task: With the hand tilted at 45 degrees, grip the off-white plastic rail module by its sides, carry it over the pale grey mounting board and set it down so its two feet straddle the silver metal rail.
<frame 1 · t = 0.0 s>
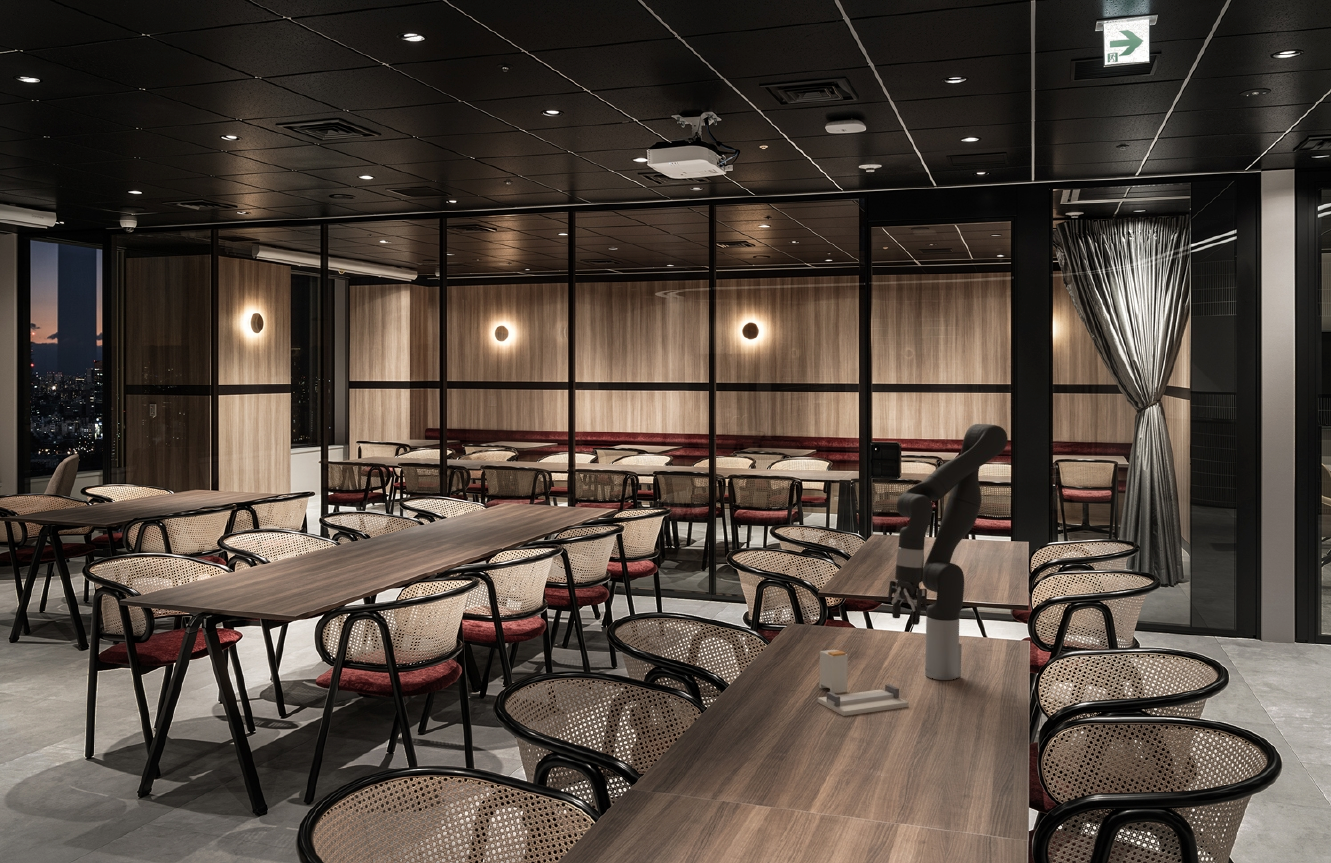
hand: (905, 621, 286), 17 cm above the table, tool pointing down, fingers open, 8 cm apart
mounting board: (862, 704, 264), on the table
rail module: (833, 689, 277), on the table
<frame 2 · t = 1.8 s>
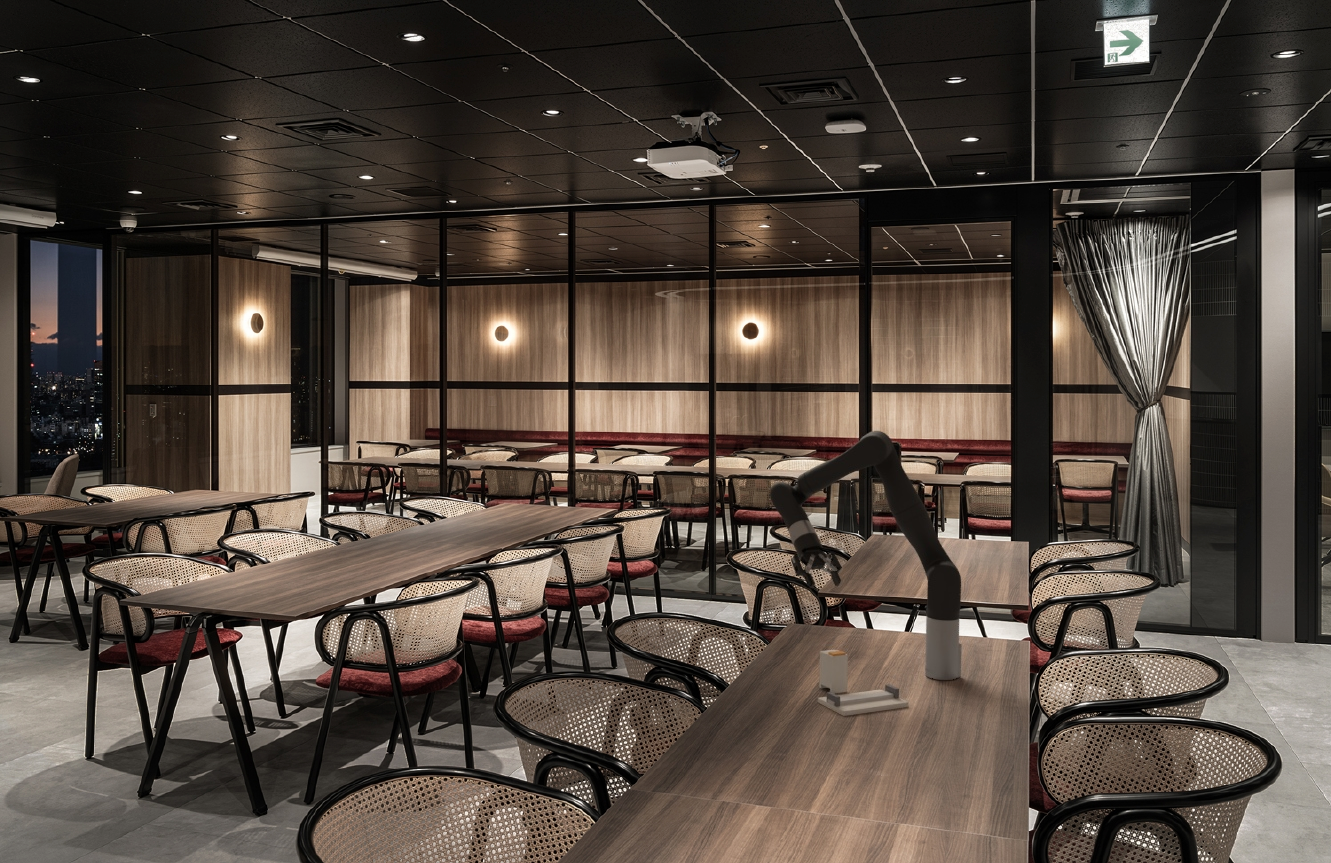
hand: (825, 585, 287), 27 cm above the table, tool tilted 45°, fingers open, 8 cm apart
nothing on the table moved.
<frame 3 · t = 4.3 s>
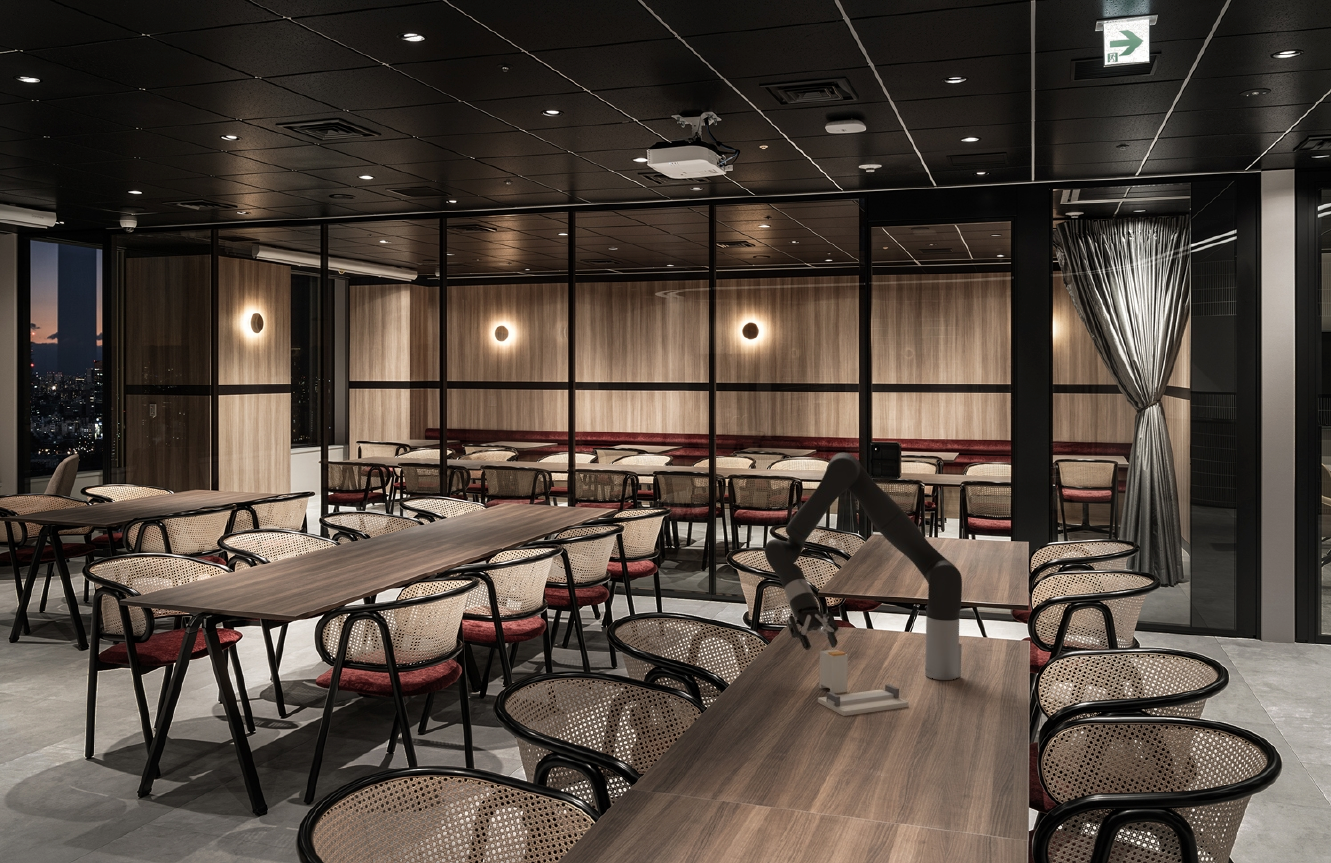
hand: (821, 647, 282), 10 cm above the table, tool tilted 45°, fingers open, 8 cm apart
nothing on the table moved.
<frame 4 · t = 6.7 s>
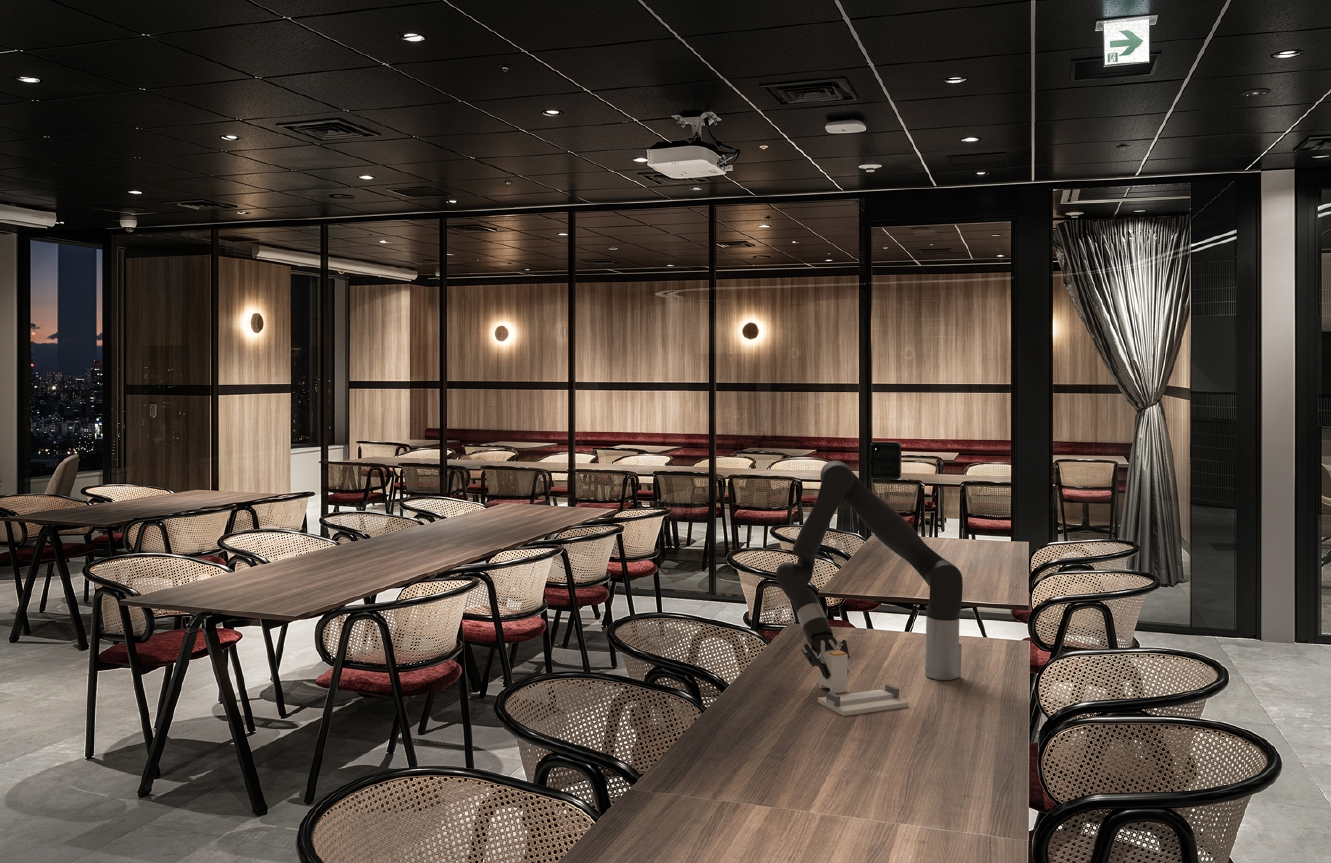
hand: (837, 676, 275), 4 cm above the table, tool tilted 45°, fingers closed on rail module, 5 cm apart
rail module: (833, 689, 277), on the table, touching gripper
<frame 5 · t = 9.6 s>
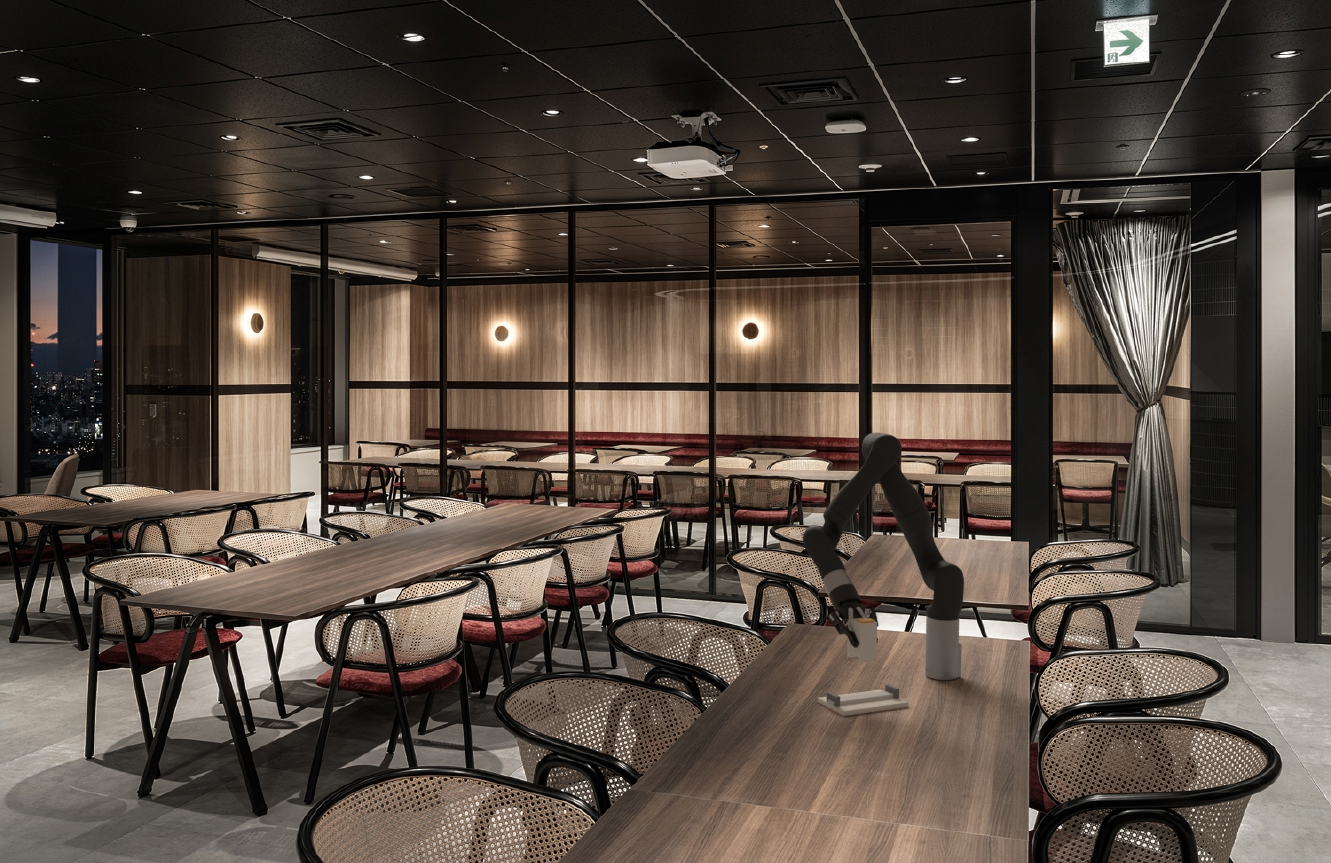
hand: (866, 644, 263), 16 cm above the table, tool tilted 45°, fingers closed on rail module, 5 cm apart
rail module: (861, 658, 265), point 12 cm above the table, touching gripper
when the fingers open (7 cm above the table, at t = 12.4 s): rail module drops 1 cm, resting on mounting board.
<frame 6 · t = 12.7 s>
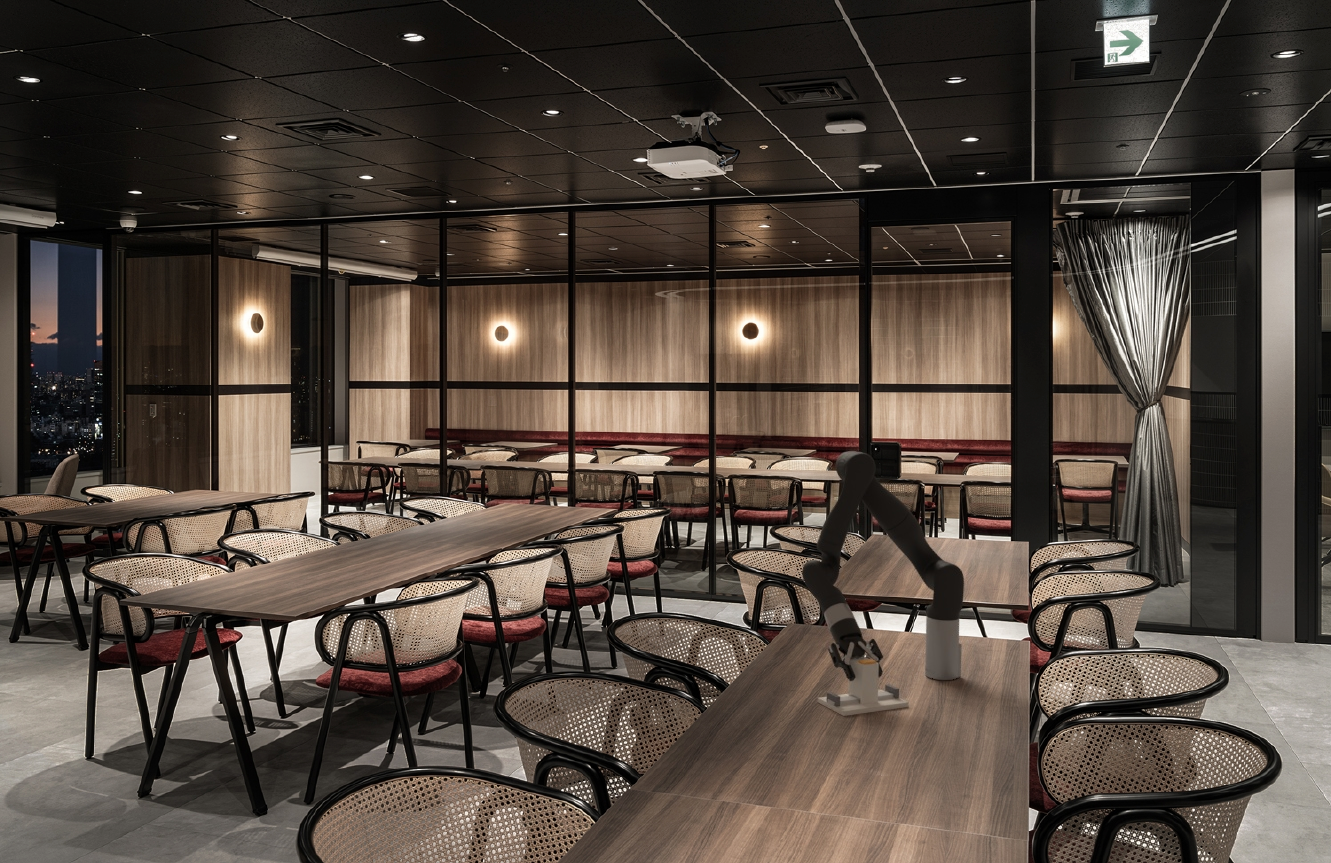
hand: (866, 677, 263), 7 cm above the table, tool tilted 45°, fingers open, 8 cm apart
rail module: (863, 699, 264), point 1 cm above the table, touching mounting board
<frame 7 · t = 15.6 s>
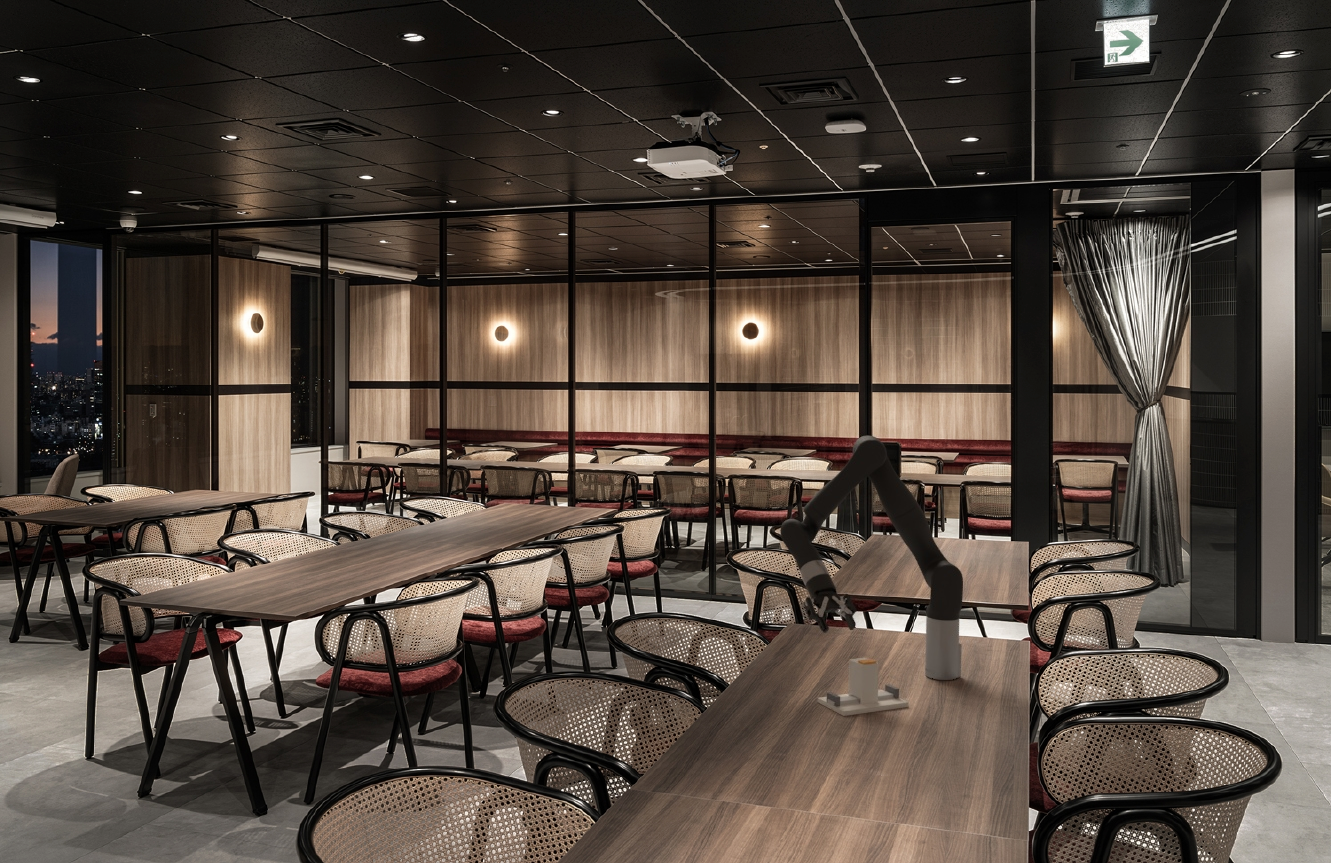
hand: (839, 629, 274), 17 cm above the table, tool tilted 45°, fingers open, 8 cm apart
nothing on the table moved.
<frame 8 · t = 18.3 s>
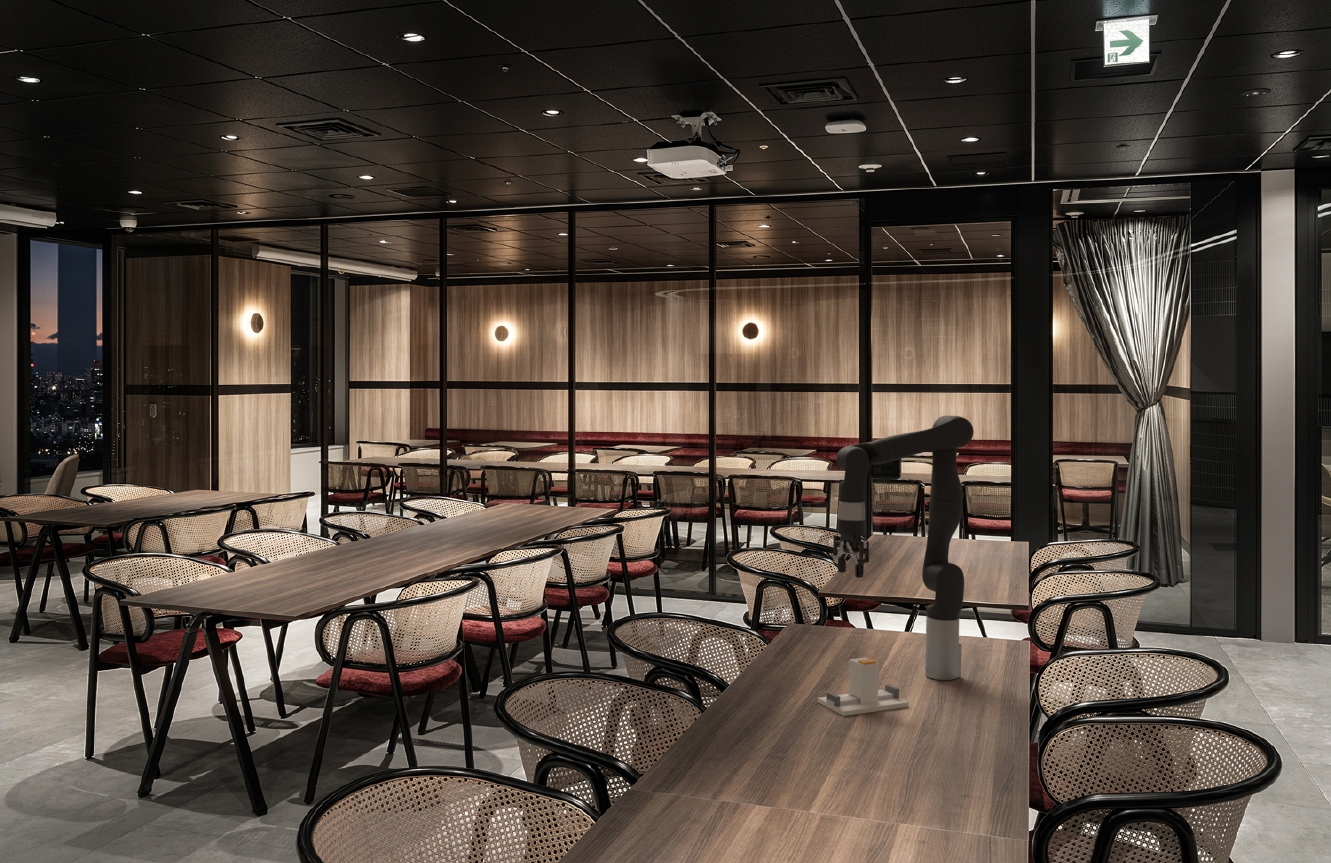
hand: (850, 574, 285), 30 cm above the table, tool pointing down, fingers open, 8 cm apart
nothing on the table moved.
at the end: rail module inside the target area on the mounting board (0.1 cm from its centre), point 1.2 cm above the mounting board's base; rail module tilted 0°; the gripper is holding nothing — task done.
